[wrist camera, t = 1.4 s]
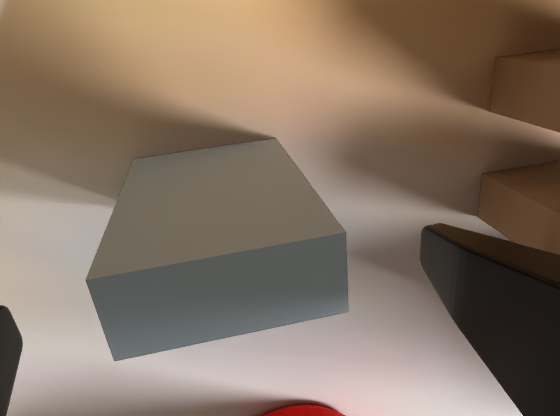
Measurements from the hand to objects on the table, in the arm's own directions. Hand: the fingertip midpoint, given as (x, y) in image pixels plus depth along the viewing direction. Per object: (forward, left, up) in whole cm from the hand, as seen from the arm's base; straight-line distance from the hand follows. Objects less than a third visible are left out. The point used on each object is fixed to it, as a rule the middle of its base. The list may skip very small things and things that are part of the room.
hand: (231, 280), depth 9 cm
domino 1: (0, 0, -7) cm, 7 cm away
